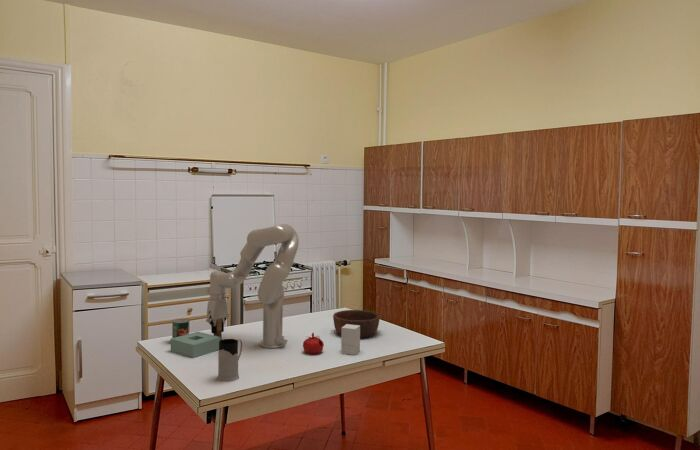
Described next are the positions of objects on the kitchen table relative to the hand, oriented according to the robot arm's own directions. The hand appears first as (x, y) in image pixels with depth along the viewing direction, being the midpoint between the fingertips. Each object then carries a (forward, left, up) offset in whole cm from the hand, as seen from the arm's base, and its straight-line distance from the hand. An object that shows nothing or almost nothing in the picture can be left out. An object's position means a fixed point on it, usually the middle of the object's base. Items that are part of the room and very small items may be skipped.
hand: (217, 332), depth 267 cm
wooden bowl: (-47, -55, -5) cm, 73 cm away
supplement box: (-63, -26, -5) cm, 68 cm away
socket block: (-4, +17, -4) cm, 18 cm away
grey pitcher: (-42, +30, -5) cm, 52 cm away
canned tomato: (+12, +13, -5) cm, 18 cm away
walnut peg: (0, 0, -4) cm, 4 cm away
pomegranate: (-49, -15, -5) cm, 51 cm away
